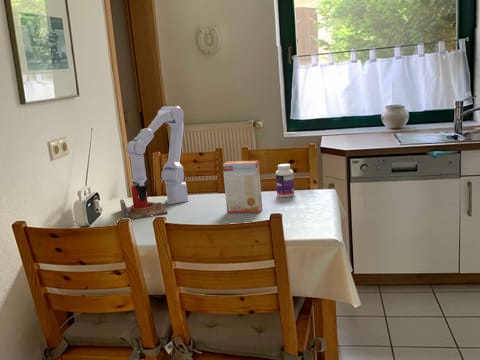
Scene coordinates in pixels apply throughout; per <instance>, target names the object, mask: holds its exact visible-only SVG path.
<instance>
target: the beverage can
mask: <svg viewBox="0 0 480 360" xmlns="http://www.w3.org/2000/svg"><path fill="white" fill-rule="evenodd" d="M135 185H139V183H133V182H132V186H131V197H132V205H133V207H134V208H147V207H148V202H149V200H148V191H146V200H145V201H141V200H140V198H139V194H138V191H137V189H136V188H135ZM144 185H146V183H145V184H144Z"/></svg>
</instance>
